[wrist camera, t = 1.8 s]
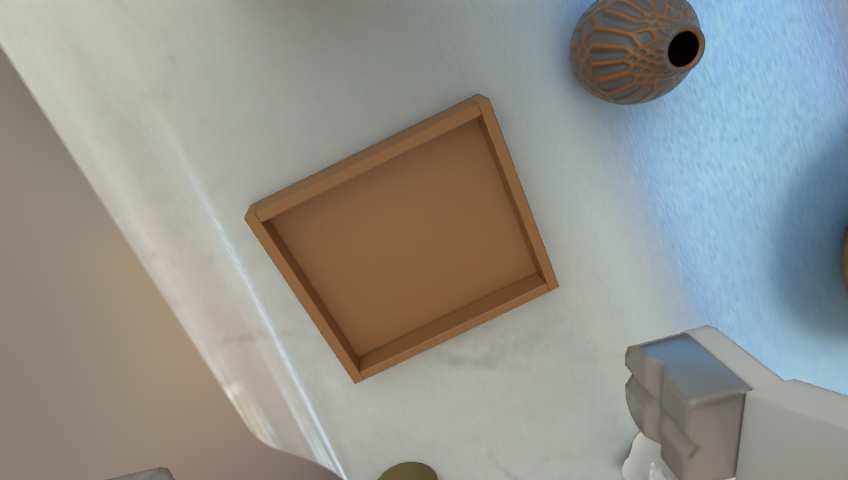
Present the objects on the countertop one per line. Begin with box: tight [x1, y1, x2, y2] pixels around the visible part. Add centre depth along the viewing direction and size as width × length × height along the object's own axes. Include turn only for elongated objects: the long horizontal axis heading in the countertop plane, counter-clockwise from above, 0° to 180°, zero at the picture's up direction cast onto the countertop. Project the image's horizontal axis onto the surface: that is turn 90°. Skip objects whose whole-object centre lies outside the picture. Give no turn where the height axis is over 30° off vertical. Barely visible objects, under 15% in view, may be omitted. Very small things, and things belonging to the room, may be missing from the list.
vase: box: [570, 0, 705, 105], centre depth 30 cm, size 7×7×9 cm
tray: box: [244, 94, 559, 384], centre depth 36 cm, size 18×16×3 cm
